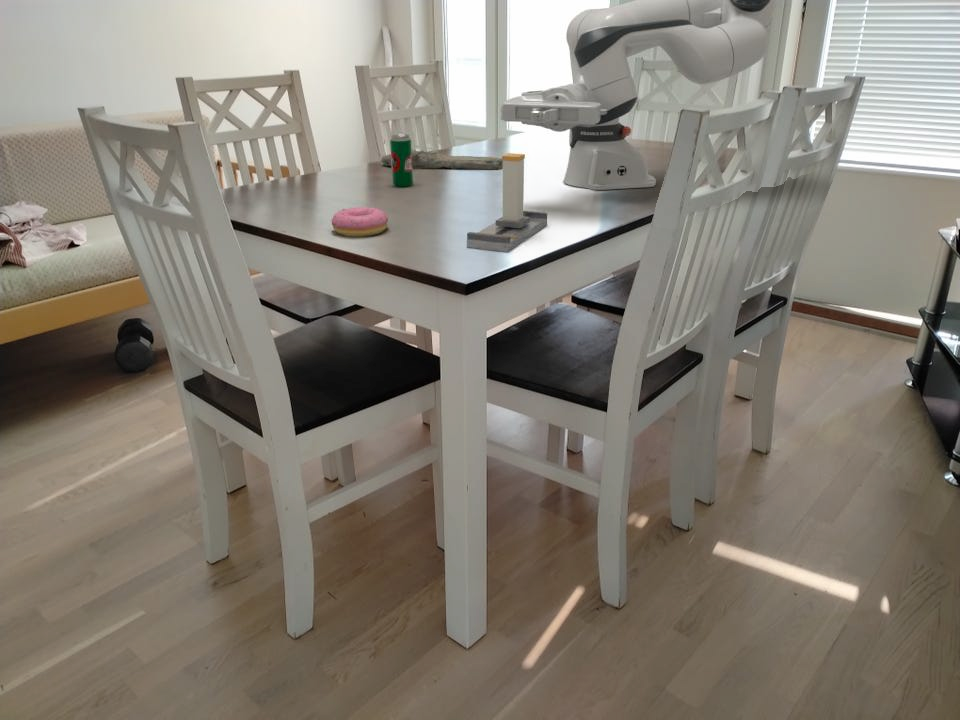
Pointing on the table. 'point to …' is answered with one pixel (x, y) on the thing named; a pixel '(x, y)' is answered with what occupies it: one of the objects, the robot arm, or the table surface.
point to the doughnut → (359, 221)
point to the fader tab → (513, 192)
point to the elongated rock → (448, 161)
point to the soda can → (401, 160)
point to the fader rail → (507, 234)
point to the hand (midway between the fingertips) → (537, 116)
